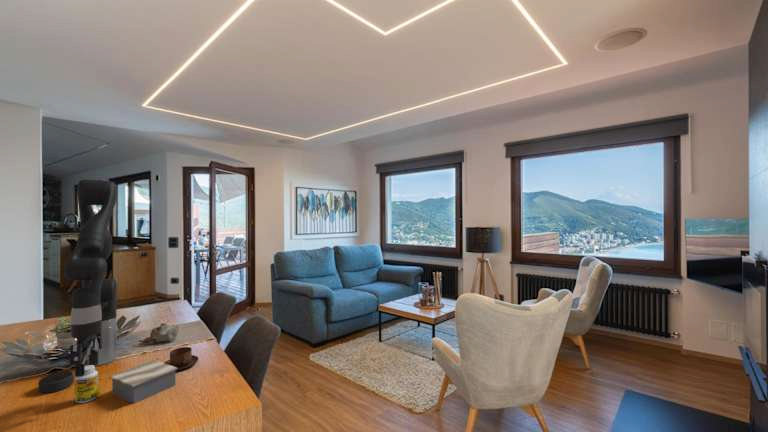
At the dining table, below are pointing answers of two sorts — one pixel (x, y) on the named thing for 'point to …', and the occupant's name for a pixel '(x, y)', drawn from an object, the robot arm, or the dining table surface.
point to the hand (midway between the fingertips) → (87, 370)
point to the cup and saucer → (182, 358)
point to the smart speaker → (56, 382)
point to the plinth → (143, 381)
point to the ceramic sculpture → (162, 334)
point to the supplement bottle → (86, 385)
